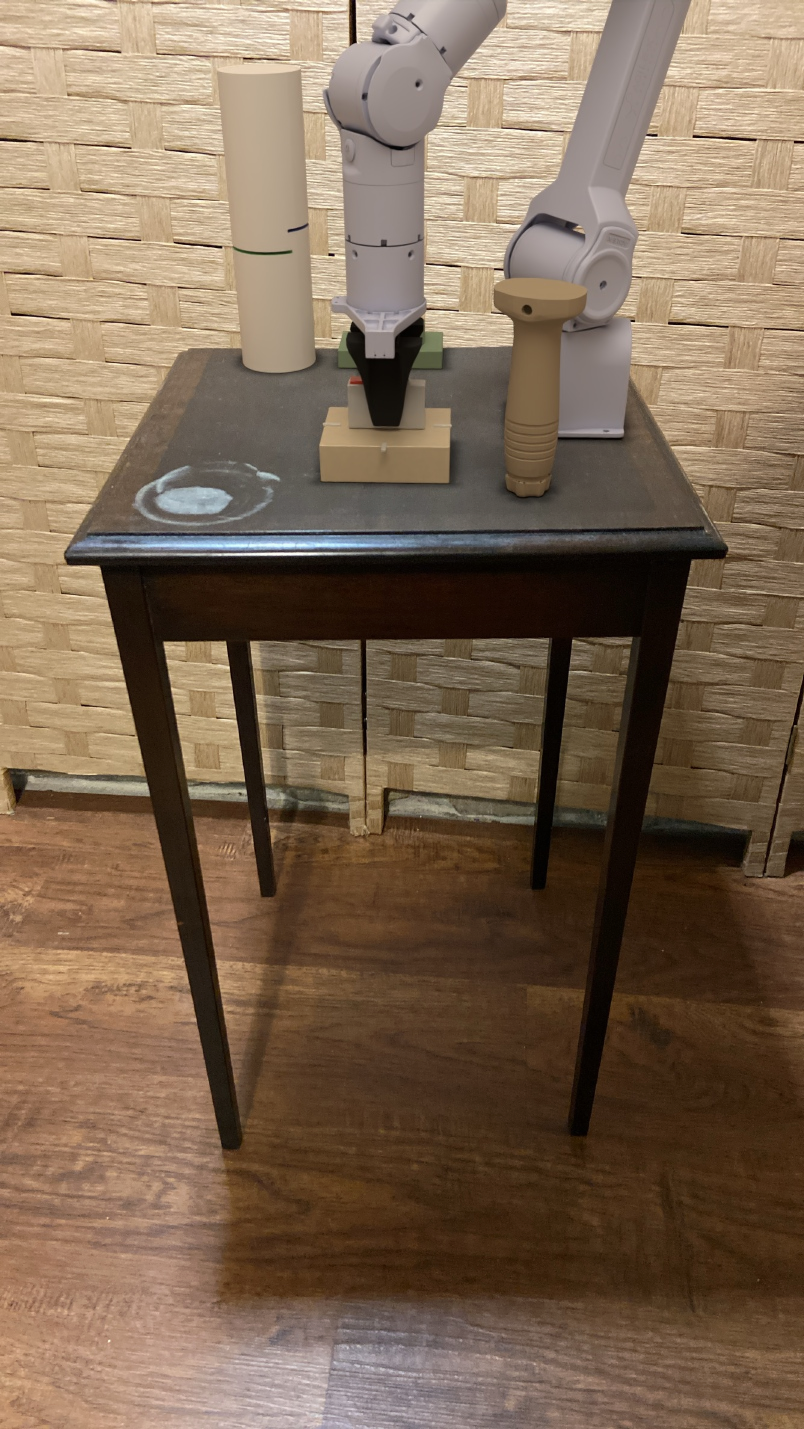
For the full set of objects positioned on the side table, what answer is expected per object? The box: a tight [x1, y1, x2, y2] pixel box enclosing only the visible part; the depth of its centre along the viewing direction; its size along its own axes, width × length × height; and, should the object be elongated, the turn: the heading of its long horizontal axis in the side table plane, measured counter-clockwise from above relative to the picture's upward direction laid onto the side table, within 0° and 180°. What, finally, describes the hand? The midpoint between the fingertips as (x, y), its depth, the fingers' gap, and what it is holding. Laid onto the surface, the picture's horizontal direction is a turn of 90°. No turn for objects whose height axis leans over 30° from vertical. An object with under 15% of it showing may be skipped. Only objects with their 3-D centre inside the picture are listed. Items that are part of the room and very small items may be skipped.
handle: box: [492, 278, 587, 498], centre depth 82 cm, size 5×6×15 cm
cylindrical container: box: [216, 63, 317, 374], centre depth 103 cm, size 7×7×25 cm
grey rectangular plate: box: [346, 375, 427, 429], centre depth 88 cm, size 6×1×4 cm, turn 87°
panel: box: [318, 406, 453, 484], centre depth 90 cm, size 10×10×3 cm
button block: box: [337, 319, 444, 370], centre depth 110 cm, size 10×6×4 cm, turn 87°
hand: (387, 419), depth 89 cm, fingers closed on grey rectangular plate
